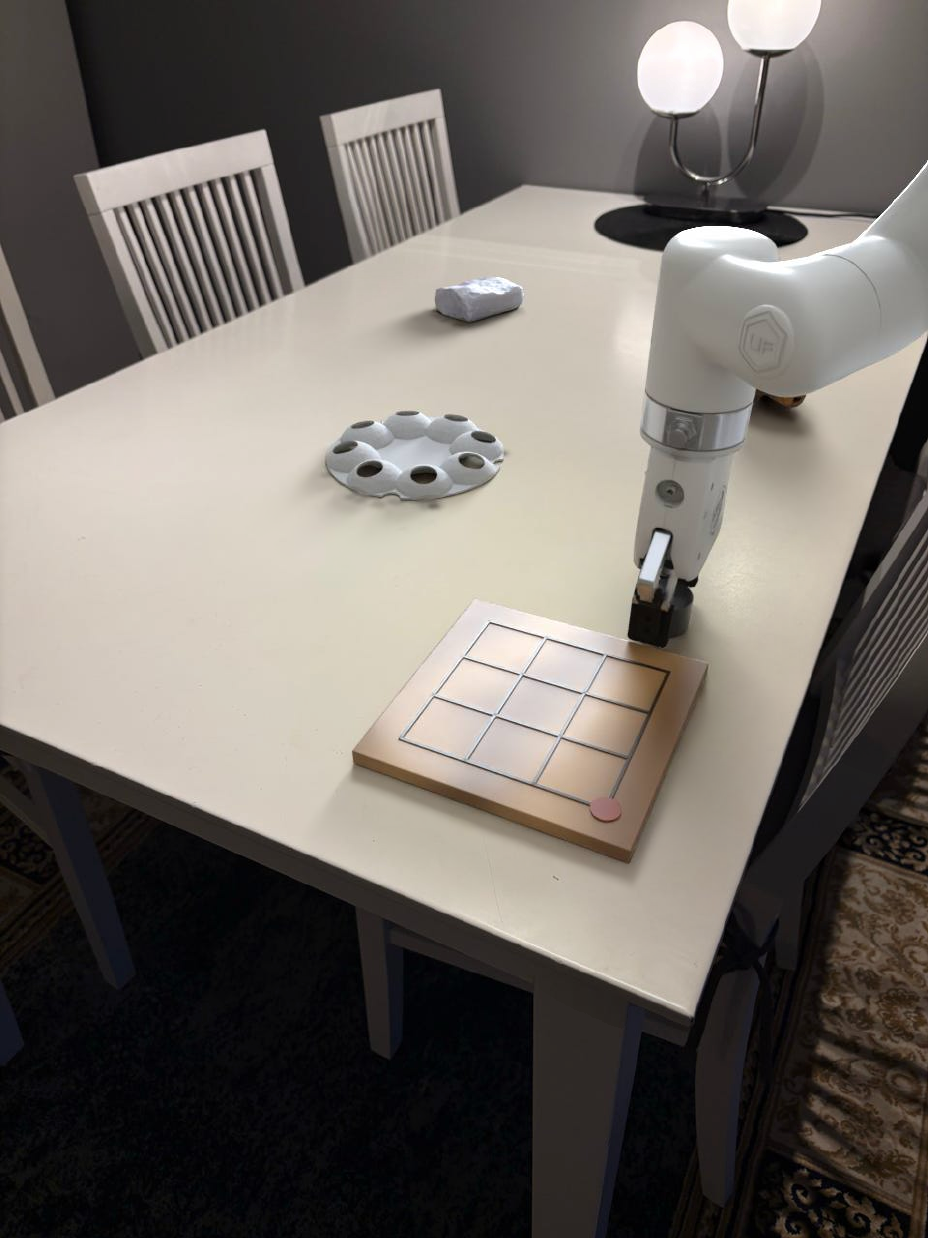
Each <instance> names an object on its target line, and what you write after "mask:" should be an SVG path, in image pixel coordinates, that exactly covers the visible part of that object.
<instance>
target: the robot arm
mask: <svg viewBox="0 0 928 1238" xmlns="http://www.w3.org/2000/svg"><path fill="white" fill-rule="evenodd" d="M654 304H655V306H654V312H653V313H654V314H653V321H652V328H651V329H652V330H651V337H650V343H649V344H650V345H649V352H648V353H649V354H648V360H647V367H646V377H645V385H644V393H643V401H642V408H641V418H640V425H639V435H640V437H641V439H642V440H643V441H644V442H645V443H646V444H648V446H650V450H649V454H648V458H647V463H646V469H645V471H644V480H643V486H642V492H641V498H640V503H639V509H638V516H637V522H636V523H637V524H636V531H635V538H634V547H633V563H634V565H635V567H636V568H637V569H638V570H639V572H638V573H639V574H638V577H637V581H636V584H635V588H634V592H633V595H632V598H631V599H632V600H631V604H630V605H631V606H630V612H629V613H630V614H629V620H628V627H627V634H626V635H627V636H626V637H627V638H628V639H629V641H632V642H636V643H640V644H643V645H647V646H650V647H654V648H658V649H665V648H667V646H668V644H669V643H670V642H669V641H670V639H669V636H670V631H671V625H672V619H673V613H674V607H675V605H672V604H671V602H672V598H673V594H674V591H675V587H676V584H677V581H678V582H680V583H682V584H684V585H686V586H687V587H689V588H690V589H692V588H693V589H694V588H695V587H696V586H697V584H698V582H699V577H700V576H699V575H700V573H701V571H702V569H703V568H704V566H705V563H706V562H707V560H708V558H709V555H710V553H711V551H712V550H713V547H714V546H715V543H716V541H717V538H718V536H719V535H720V531H721V528H722V524H723V519H724V513H725V507H726V500H727V493H728V487H729V481H730V474H731V469H732V468H731V467H732V460H733V454H735V453H736V452H738V451H740V450H741V449H742V448H743V447H744V446H745V444H746V440H747V435H748V429H749V424H750V420H751V415H752V409H753V406H754V404H753V401H754V396H755V391H756V389H758V390H760V391H763V392H765V393H768V394H771V395H775V396H779V397H796V396H802V395H806V396H807V395H809V394H811V393H814V392H816V391H818V390H821V389H823V388H825V387H828V386H830V385H831V384H834V383H836V382H838V381H841V380H843V379H845V378H847V377H849V376H851V375H853V374H854V373H856V372H858V371H860V370H863V369H865V368H867V367H870V366H872V365H874V364H876V363H878V362H880V361H882V360H885V359H887V358H889V357H892V356H894V355H896V354H897V353H900V352H901V351H903V350H905V349H906V348H908V347H909V346H910V345H912V344H913V343H915V341H917V340H919V338H921V337H922V336H923V335H924V334H926V333H927V332H928V161H927V162H926V163H925V165H923V167H922V168H921V170H920V171H919V172H918V174H917V175H916V176H915V177H914V179H913V180H912V181H911V182H910V183H909V184H908V185H907V186H906V188H905V189H904V190H903V191H902V192H901V193H900V194H899V195H898V196H897V198H896V199H894V201H893V202H892V203H891V204H890V205H889V206H888V208H886V209H885V210H884V212H882V213H881V215H880V216H879V217H878V218H877V219H876V220H875V221H874V222H873V223H872V224H871V225H870V226H869V227H868V228H867V230H865V231H864V232H863V233H862V234H861V235H860V236H858V238H857V239H855V240H854V241H853V242H851V243H847V244H844V245H841V246H837V247H834V248H831V249H827V250H825V251H821V252H819V253H815V254H812V255H809V256H806V257H802V258H796V259H791V260H786V261H781V254H780V250H779V248H778V246H777V244H776V243H775V242H774V241H773V240H772V239H771V238H769V237H768V236H767V235H764V234H761V233H759V232H756V231H753V230H750V229H745V228H739V227H732V226H701V227H695V228H691V229H687V230H683V231H681V232H679V233H677V234H676V235H674V236H673V237H672V238H670V240H669V241H668V242H667V244H666V246H665V247H664V249H663V252H662V255H661V260H660V266H659V272H658V281H657V288H656V297H655V303H654ZM659 579H668V582H667V586H666V589H665V593H663V591H662V589H660V588H658V585H659Z"/></svg>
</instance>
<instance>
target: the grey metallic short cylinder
mask: <svg viewBox="0 0 928 1238" xmlns="http://www.w3.org/2000/svg"><path fill="white" fill-rule="evenodd" d="M667 582H668V579H660V578H659V585H658V588H660V589H662V591H663V593H665V589H666V586H667ZM694 599H695V595H694V592H693V591H692V589H691V588H690V587H687V586H686V585H684V584H682V583H680V582H678V581H677V584H676V587H675V591H674V594H673V598H672V602H671V604H672V605H675V607H674V613H673V619H672V625H671V631H670V636H669V640H670V639H677V638H679V637H681V636H683V635H684V634H686V633H687V632H688V630H689V627H690V621H691V616H692V610H693V605H694Z"/></svg>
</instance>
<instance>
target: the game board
mask: <svg viewBox="0 0 928 1238" xmlns="http://www.w3.org/2000/svg"><path fill="white" fill-rule="evenodd" d="M709 665H710V663H709V662H706V661H702V660H699V659H695V658H691V657H688V656H684V655H680V654H677V653H674V652H670V651H667V650H663V649H660V648H657V647H653V646H649V645H646V644H642V643H639V642H635V641H631V640H627V639H623V638H620V637H616V636H612V635H609V634H605V633H602V632H598V631H594V630H590V629H587V628H583V627H580V626H576V625H572V624H570V623H565V622H561V621H557V620H554V619H551V618H547V617H544V616H540V615H536V614H532V613H529V612H525V611H522V610H518V609H516V608H515V609H514V608H511V607H507V606H503V605H500V604H497V603H493V602H489V601H485V600H482V599H479V598H473V600H472V601H471V602H470V603H469V605H468V606H467V607H466V608H465V609H464V611H463V612H462V613H461V614H460V616H459V617H458V618H457V619H456V621H455V622H454V624H453V625H452V626H450V628H449V629H448V631H447V632H446V633H445V635H444V636H443V637H442V638H441V639H440V641H439V642H438V643H437V644H436V646H435V647H434V648H433V649H432V651H431V652H430V653H429V655H428V656H427V657H426V658H425V659H424V660H423V662H422V663H421V664H420V666H419V667H418V668H417V669H416V671H415V672H414V673H413V674H412V675H411V677H410V678H409V679H408V681H407V682H406V683H405V684H404V685H403V687H402V688H401V689H400V691H399V692H398V693H397V694H396V695H395V697H394V698H393V699H392V701H391V702H390V703H389V704H388V706H386V708H385V709H384V711H382V712H381V714H380V716H378V718H377V719H376V720H375V722H373V724H372V725H371V726H370V728H369V729H368V730H367V732H366V733H365V734H364V735H363V737H362V738H361V739H360V740H359V742H358V743H357V744H356V745H355V746H354V748H353V749H352V750H351V755H352V756H351V757H352V763H353V764H356V765H359V766H361V767H364V768H366V769H369V770H372V771H374V772H377V773H380V774H383V775H386V776H388V777H391V778H394V779H397V780H399V781H402V782H405V783H408V784H410V785H413V786H416V787H419V788H421V789H424V790H427V791H430V792H432V793H435V794H437V795H440V796H442V797H446V798H449V799H451V800H454V801H457V802H460V803H463V804H465V805H468V806H470V807H473V808H476V809H479V810H482V811H484V812H488V813H490V814H493V815H494V816H495V815H496V816H499V817H501V818H503V819H506V820H509V821H512V822H514V823H516V824H520V825H523V826H526V827H528V828H531V829H534V830H537V831H539V832H541V833H544V834H547V835H549V836H553V837H556V838H558V839H561V840H564V841H567V842H569V843H572V844H575V845H577V846H580V847H583V848H585V849H588V850H591V851H594V852H596V853H599V854H602V855H605V856H608V857H611V858H614V859H617V860H618V861H622V862H624V863H626V864H629V863H630V862H631V861H632V857H633V855H634V852H635V851H636V848H637V846H638V844H639V840H640V839H641V836H642V833H643V831H644V828H645V826H646V825H647V822H648V819H649V816H650V814H651V812H652V810H653V807H654V804H655V801H656V799H657V797H658V794H659V792H660V790H661V787H662V785H663V783H664V780H665V777H666V775H667V773H668V770H669V768H670V765H671V764H672V763H671V762H672V760H673V758H674V755H675V753H676V750H677V749H678V746H679V743H680V741H681V739H682V736H683V734H684V731H685V729H686V726H687V724H688V721H689V720H690V719H689V718H690V716H691V714H692V711H693V709H694V706H695V704H696V702H697V699H698V697H699V695H700V692H701V689H702V687H703V685H704V682H705V680H706V677H707V675H708V671H709Z"/></svg>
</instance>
